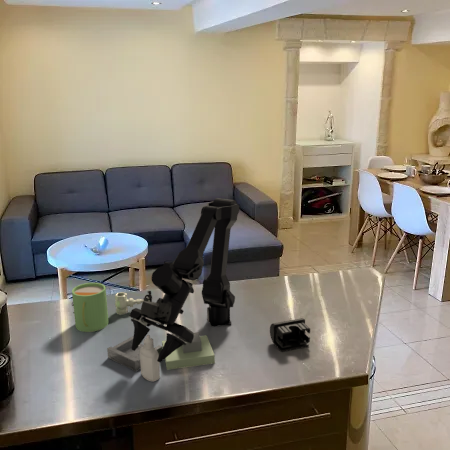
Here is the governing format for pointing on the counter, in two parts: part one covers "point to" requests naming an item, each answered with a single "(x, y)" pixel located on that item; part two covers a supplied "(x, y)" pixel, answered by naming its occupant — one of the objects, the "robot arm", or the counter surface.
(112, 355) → the grey square tray
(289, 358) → the counter surface
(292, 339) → the end cap
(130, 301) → the valve
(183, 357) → the deck plate
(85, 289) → the mug
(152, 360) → the eye dropper bottle
